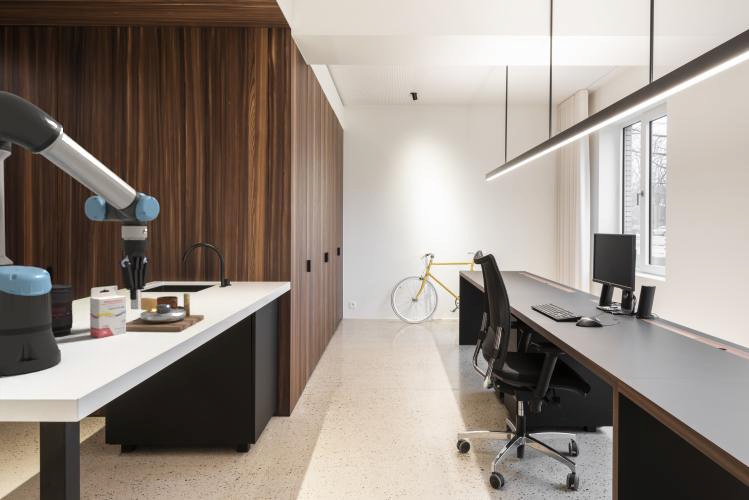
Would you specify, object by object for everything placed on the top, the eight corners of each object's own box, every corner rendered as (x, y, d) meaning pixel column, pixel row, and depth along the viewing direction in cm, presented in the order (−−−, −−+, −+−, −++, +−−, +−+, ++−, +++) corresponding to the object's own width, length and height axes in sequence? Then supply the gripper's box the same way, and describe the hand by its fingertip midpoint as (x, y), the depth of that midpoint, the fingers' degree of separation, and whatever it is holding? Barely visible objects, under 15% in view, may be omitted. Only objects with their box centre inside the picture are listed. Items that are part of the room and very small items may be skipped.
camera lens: (57, 338, 134) (56, 288, 134) (34, 337, 136) (33, 287, 135) (80, 332, 142) (79, 284, 142) (58, 331, 144) (57, 283, 143)
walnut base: (180, 331, 145) (180, 302, 145) (117, 330, 145) (117, 301, 145) (203, 319, 165) (203, 293, 165) (148, 318, 165) (148, 292, 165)
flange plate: (194, 317, 158) (194, 299, 157) (157, 324, 146) (157, 305, 145) (161, 311, 167) (161, 295, 166) (124, 318, 155) (124, 300, 154)
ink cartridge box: (99, 338, 135) (98, 289, 135) (89, 336, 138) (88, 288, 137) (127, 333, 143) (126, 286, 142) (117, 331, 145) (117, 285, 144)
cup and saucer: (190, 311, 181) (190, 296, 180) (170, 317, 169) (170, 300, 169) (164, 309, 183) (164, 294, 183) (142, 315, 172) (142, 299, 171)
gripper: (132, 239, 146) (133, 312, 147) (156, 238, 159) (157, 306, 160) (110, 239, 147) (112, 312, 148) (136, 238, 160) (137, 305, 161)
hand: (135, 308), depth 154 cm, fingers closed
